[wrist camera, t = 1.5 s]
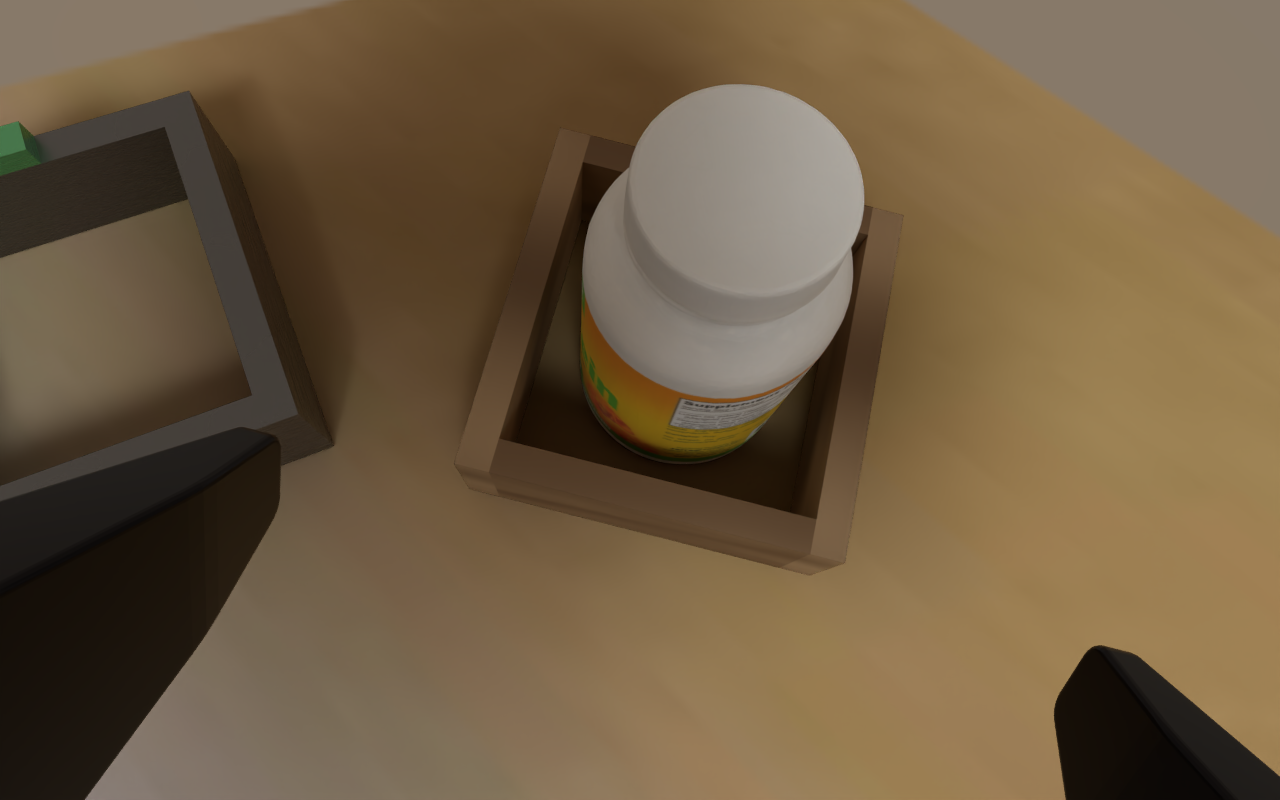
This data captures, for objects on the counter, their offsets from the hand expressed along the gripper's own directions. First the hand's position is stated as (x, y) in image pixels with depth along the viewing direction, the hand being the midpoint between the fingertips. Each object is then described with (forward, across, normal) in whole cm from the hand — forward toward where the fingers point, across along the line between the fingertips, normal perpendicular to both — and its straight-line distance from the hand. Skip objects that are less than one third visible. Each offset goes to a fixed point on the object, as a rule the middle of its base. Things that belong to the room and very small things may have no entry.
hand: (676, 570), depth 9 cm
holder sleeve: (+14, 0, +4) cm, 14 cm away
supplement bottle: (+14, 0, +4) cm, 15 cm away
